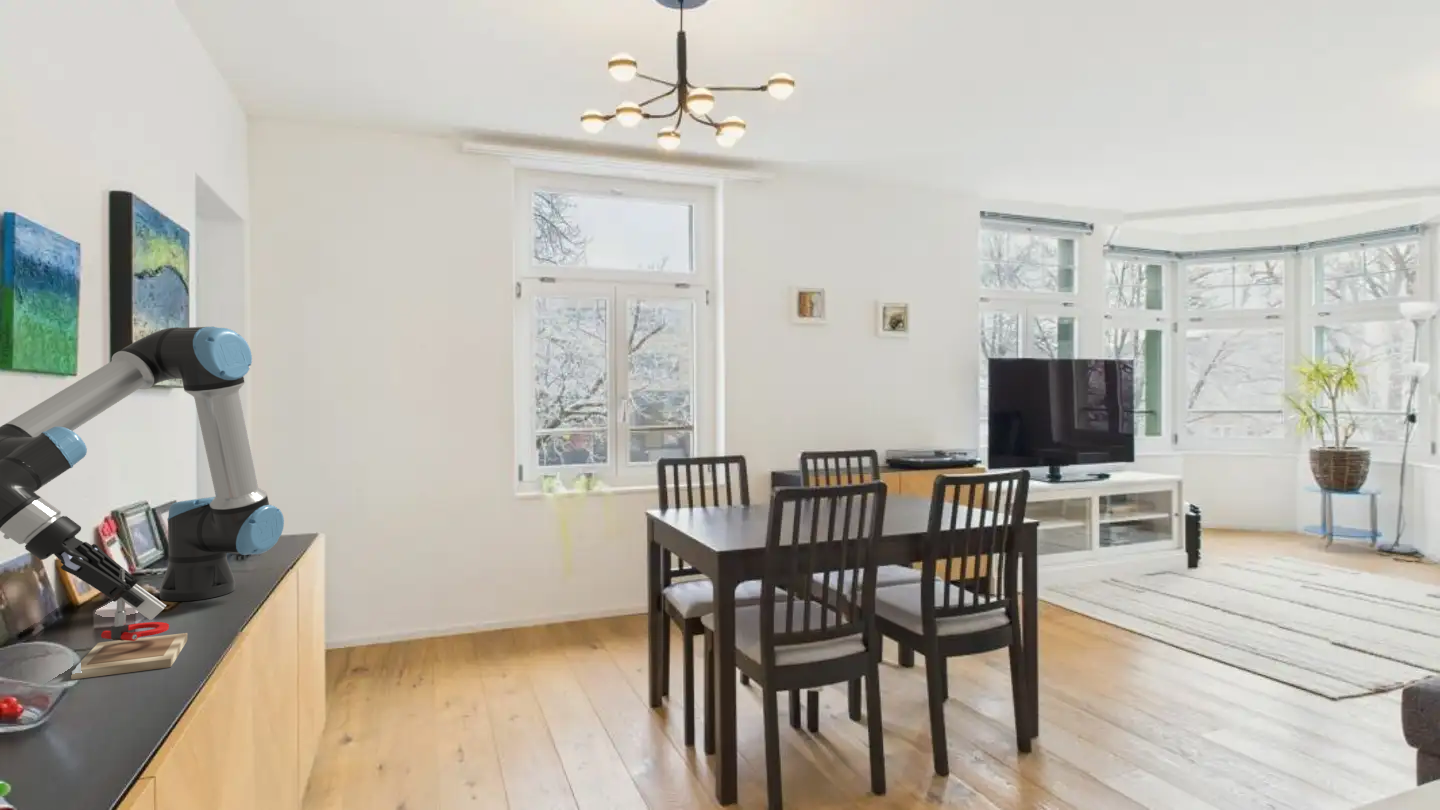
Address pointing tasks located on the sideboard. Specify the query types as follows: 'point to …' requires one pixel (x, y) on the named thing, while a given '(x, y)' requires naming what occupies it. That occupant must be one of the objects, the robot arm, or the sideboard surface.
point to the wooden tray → (131, 655)
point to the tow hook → (121, 628)
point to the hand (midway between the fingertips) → (158, 612)
